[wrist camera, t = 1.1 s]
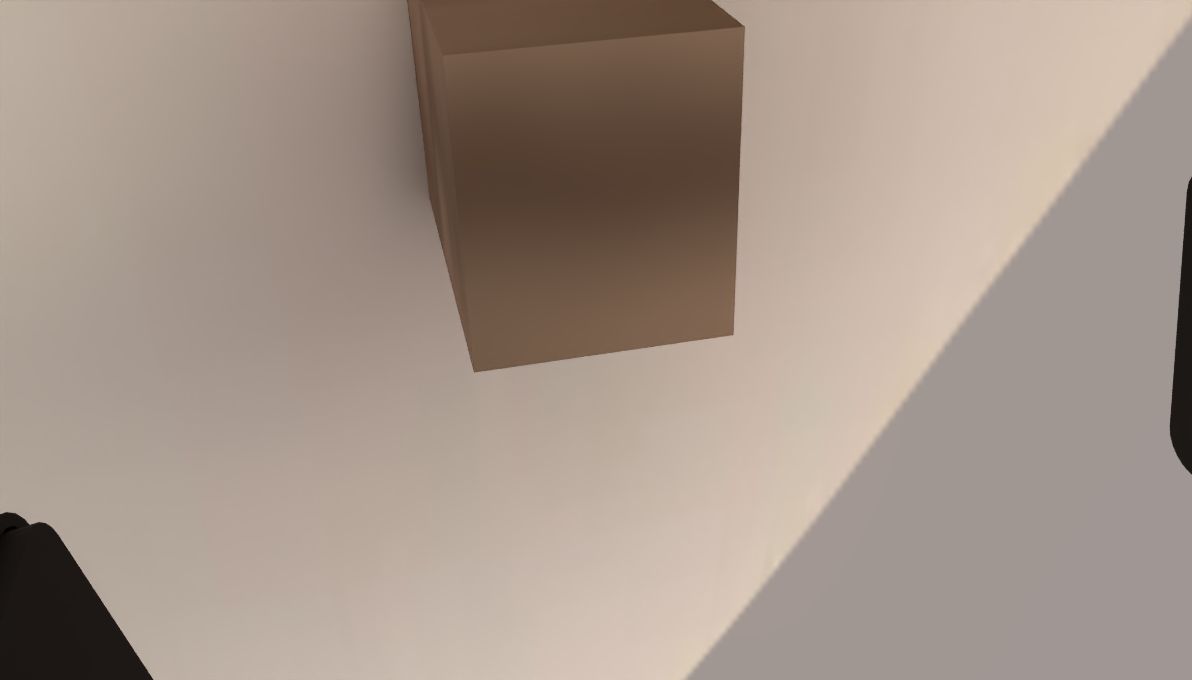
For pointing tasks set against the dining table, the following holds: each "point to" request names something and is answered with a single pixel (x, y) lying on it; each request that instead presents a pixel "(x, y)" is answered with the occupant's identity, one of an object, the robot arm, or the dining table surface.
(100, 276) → the dining table surface
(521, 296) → the walnut cabinet
